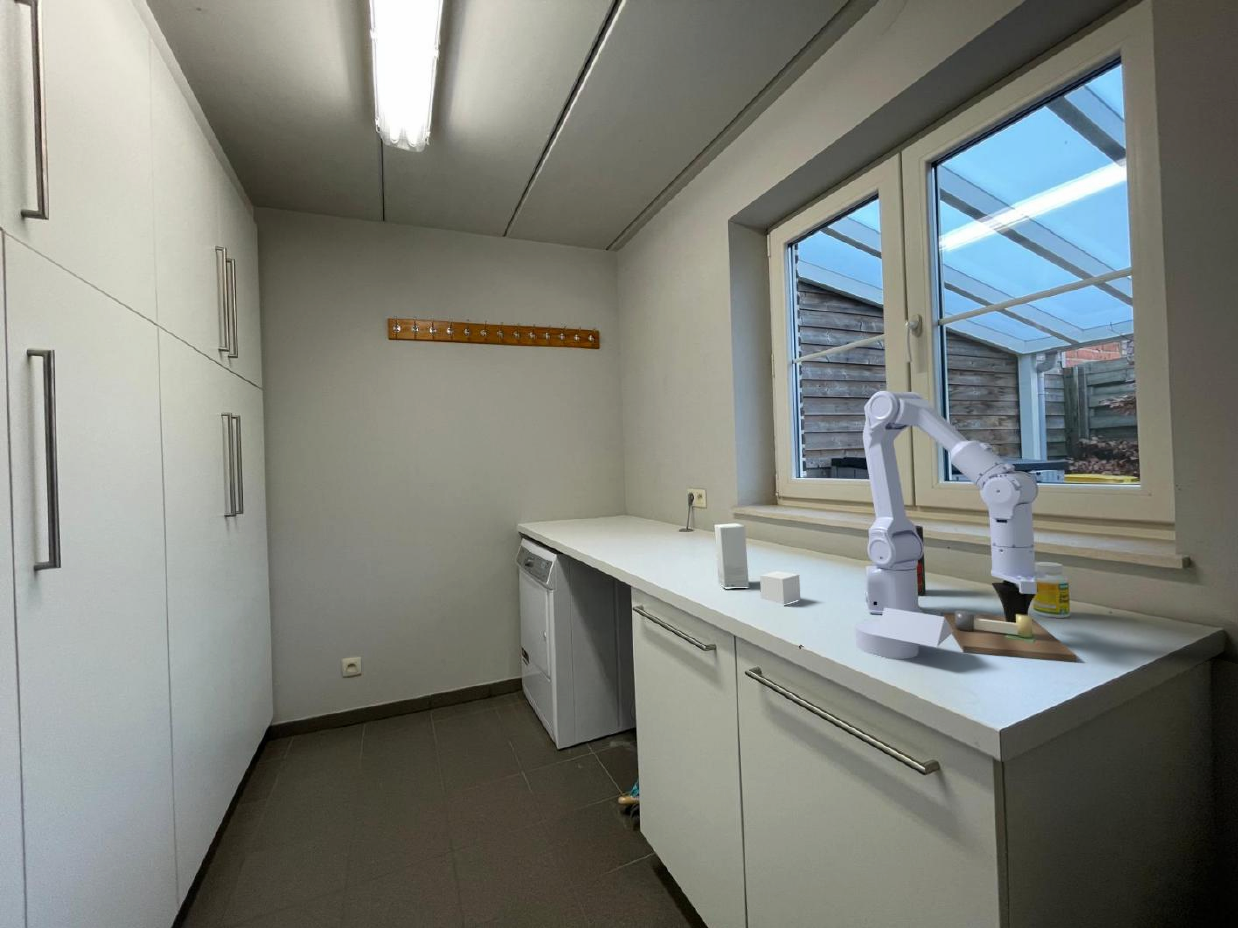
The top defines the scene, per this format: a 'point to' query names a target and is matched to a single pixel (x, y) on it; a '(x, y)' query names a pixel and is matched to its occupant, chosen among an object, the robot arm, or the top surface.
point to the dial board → (1010, 641)
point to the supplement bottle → (1052, 591)
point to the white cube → (780, 587)
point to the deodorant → (920, 567)
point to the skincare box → (731, 555)
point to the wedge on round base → (901, 633)
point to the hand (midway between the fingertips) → (1016, 627)
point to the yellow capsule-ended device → (994, 624)
